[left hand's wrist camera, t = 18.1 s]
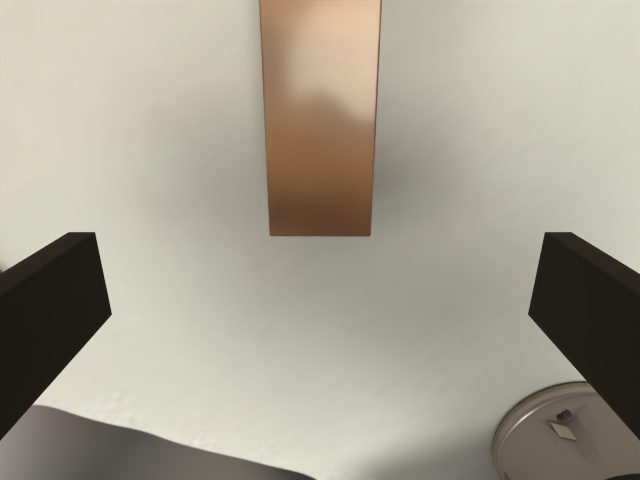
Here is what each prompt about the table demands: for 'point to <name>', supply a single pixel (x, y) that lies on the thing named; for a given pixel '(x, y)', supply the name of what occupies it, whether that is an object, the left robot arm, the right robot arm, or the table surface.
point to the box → (320, 114)
